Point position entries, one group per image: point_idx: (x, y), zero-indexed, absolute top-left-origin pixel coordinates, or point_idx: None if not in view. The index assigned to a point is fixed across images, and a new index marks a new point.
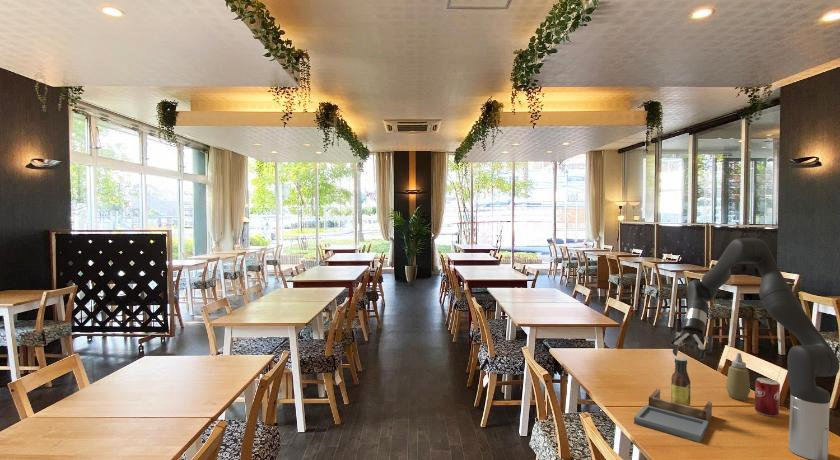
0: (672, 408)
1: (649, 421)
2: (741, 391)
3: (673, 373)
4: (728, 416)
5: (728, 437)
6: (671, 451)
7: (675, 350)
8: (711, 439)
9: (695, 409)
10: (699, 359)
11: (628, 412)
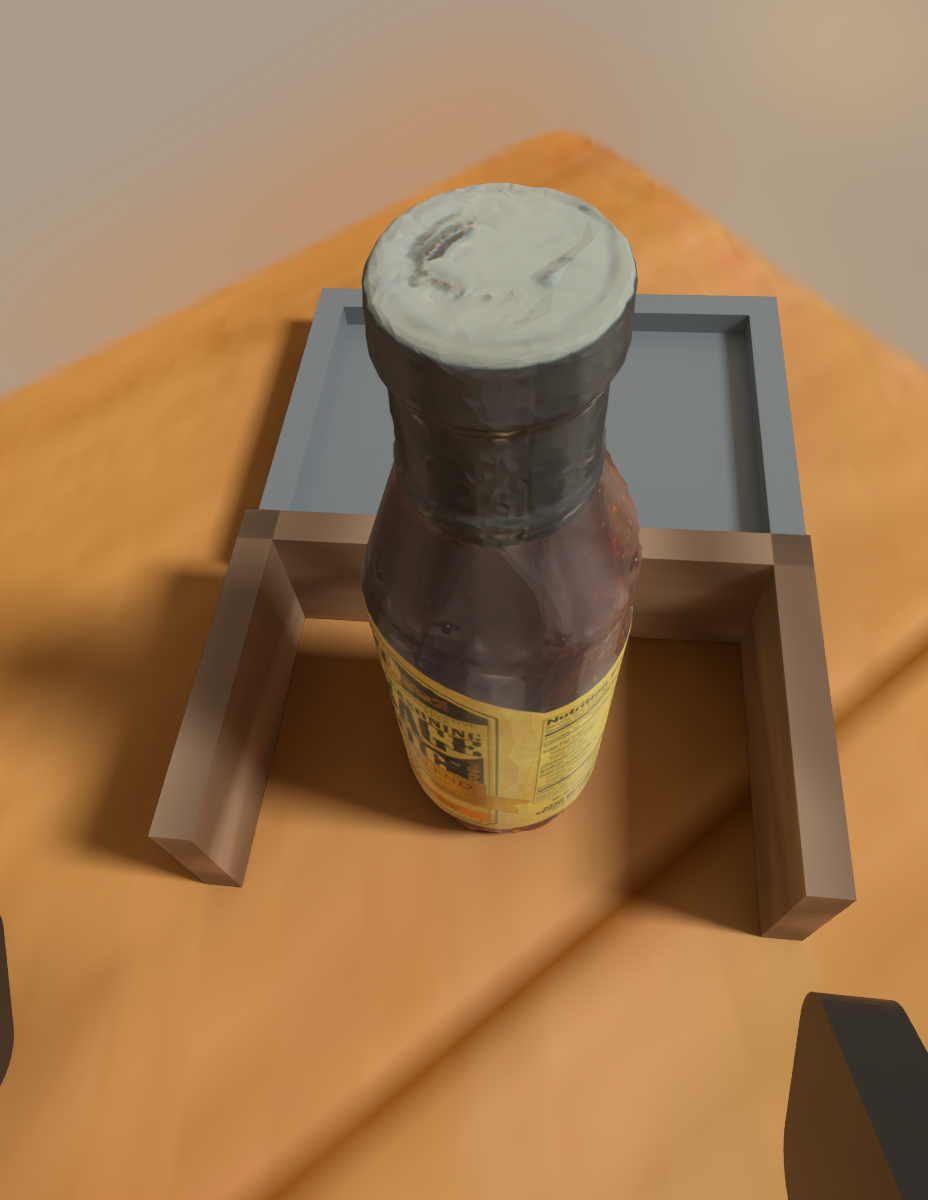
0: None
1: (659, 295)
2: None
3: (615, 481)
4: (26, 991)
5: (140, 493)
6: (473, 173)
7: (896, 1071)
8: (260, 402)
9: (341, 514)
10: (8, 982)
11: (889, 481)
